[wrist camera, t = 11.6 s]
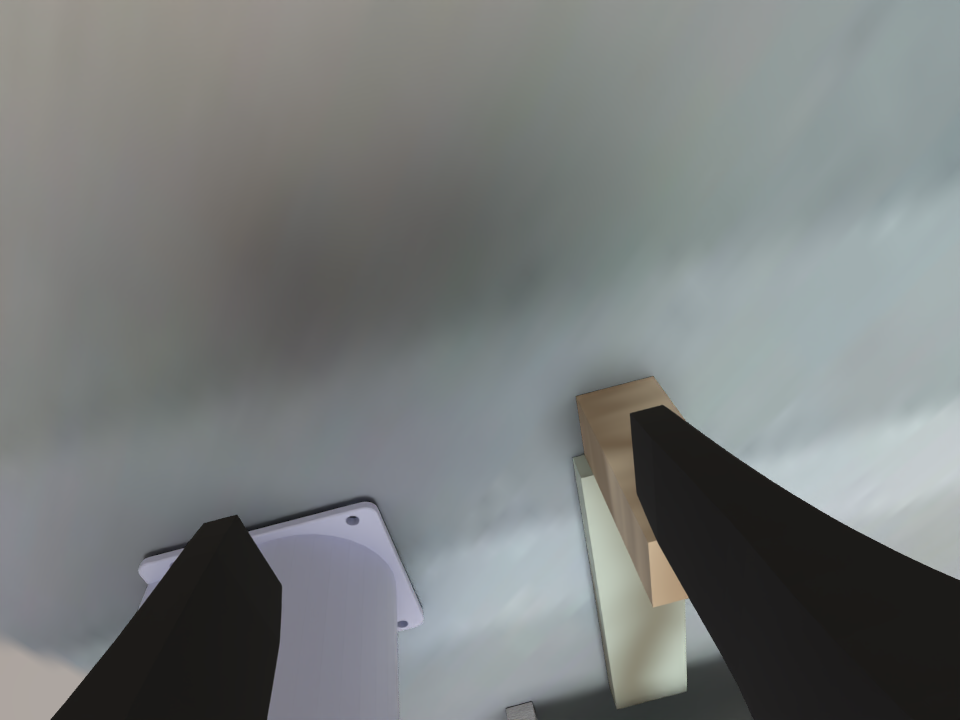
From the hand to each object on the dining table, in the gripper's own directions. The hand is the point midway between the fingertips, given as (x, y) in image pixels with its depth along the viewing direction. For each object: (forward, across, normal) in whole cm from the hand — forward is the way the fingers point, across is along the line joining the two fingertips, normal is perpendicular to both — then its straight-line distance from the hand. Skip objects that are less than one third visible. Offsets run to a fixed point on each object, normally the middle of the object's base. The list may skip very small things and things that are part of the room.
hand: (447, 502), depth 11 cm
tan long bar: (+9, -6, +16) cm, 20 cm away
